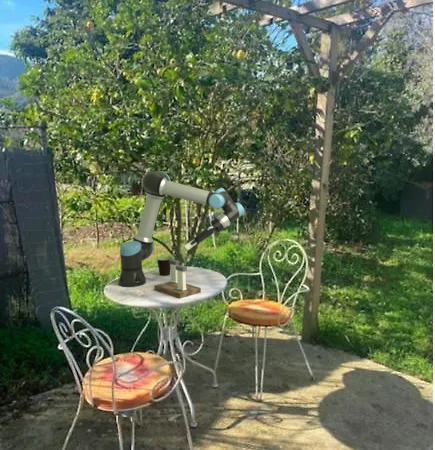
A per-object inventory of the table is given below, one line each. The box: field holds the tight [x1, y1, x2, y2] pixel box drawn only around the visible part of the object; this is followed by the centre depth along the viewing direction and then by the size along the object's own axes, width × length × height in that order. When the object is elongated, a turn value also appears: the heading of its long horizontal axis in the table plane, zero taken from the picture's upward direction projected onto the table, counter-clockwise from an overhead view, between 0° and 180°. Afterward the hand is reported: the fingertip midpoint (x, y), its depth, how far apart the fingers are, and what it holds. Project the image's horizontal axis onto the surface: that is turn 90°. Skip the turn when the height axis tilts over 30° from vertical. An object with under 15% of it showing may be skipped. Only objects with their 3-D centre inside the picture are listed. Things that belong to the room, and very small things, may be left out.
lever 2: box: [176, 264, 188, 291], centre depth 227 cm, size 3×6×12 cm, turn 43°
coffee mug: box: [156, 256, 172, 277], centre depth 271 cm, size 12×9×10 cm
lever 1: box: [169, 258, 181, 283], centre depth 241 cm, size 3×6×12 cm, turn 43°
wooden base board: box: [153, 281, 202, 299], centre depth 234 cm, size 14×22×3 cm, turn 43°
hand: (186, 248), depth 239 cm, fingers closed
